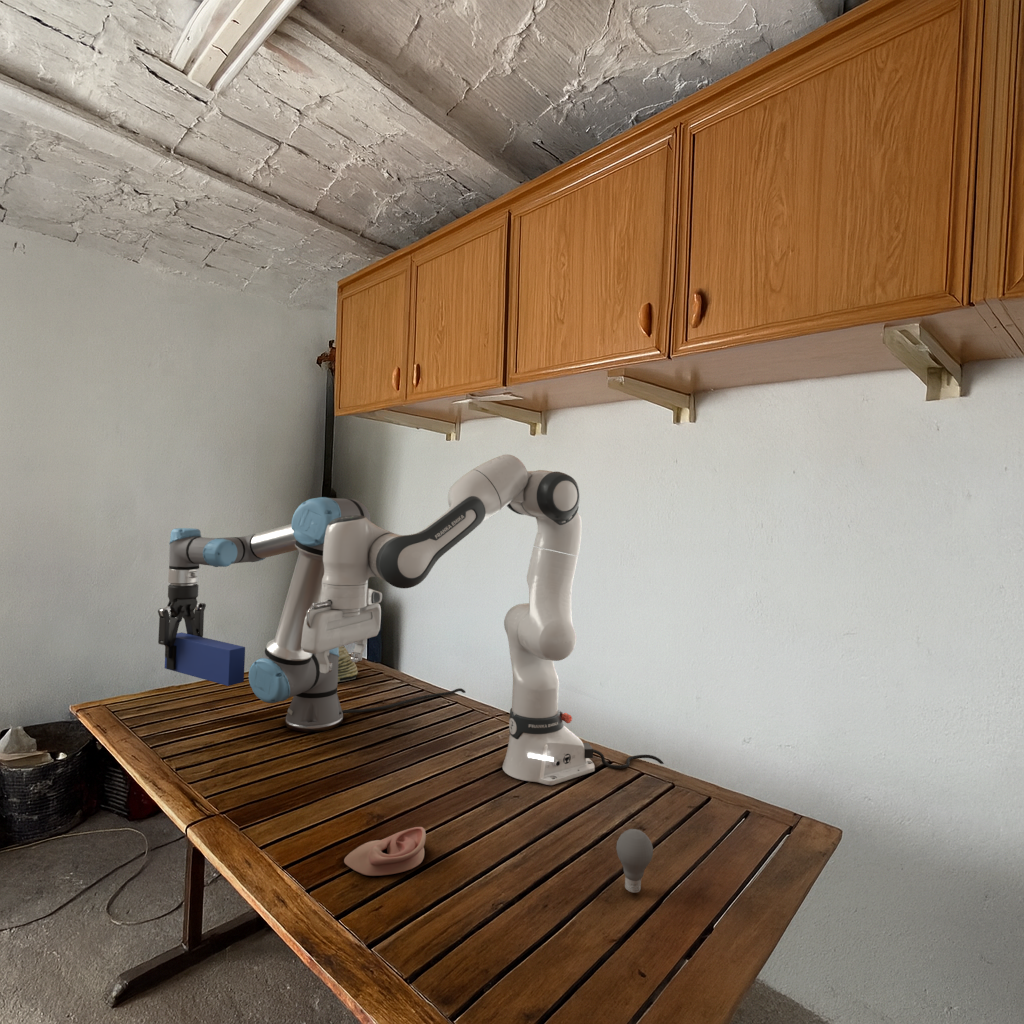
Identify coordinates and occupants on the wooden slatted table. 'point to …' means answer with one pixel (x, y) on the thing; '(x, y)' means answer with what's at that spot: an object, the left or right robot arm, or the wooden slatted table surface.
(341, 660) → the fossil
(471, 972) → the wooden slatted table surface
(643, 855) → the light bulb
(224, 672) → the bar
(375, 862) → the anatomical model
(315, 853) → the wooden slatted table surface
